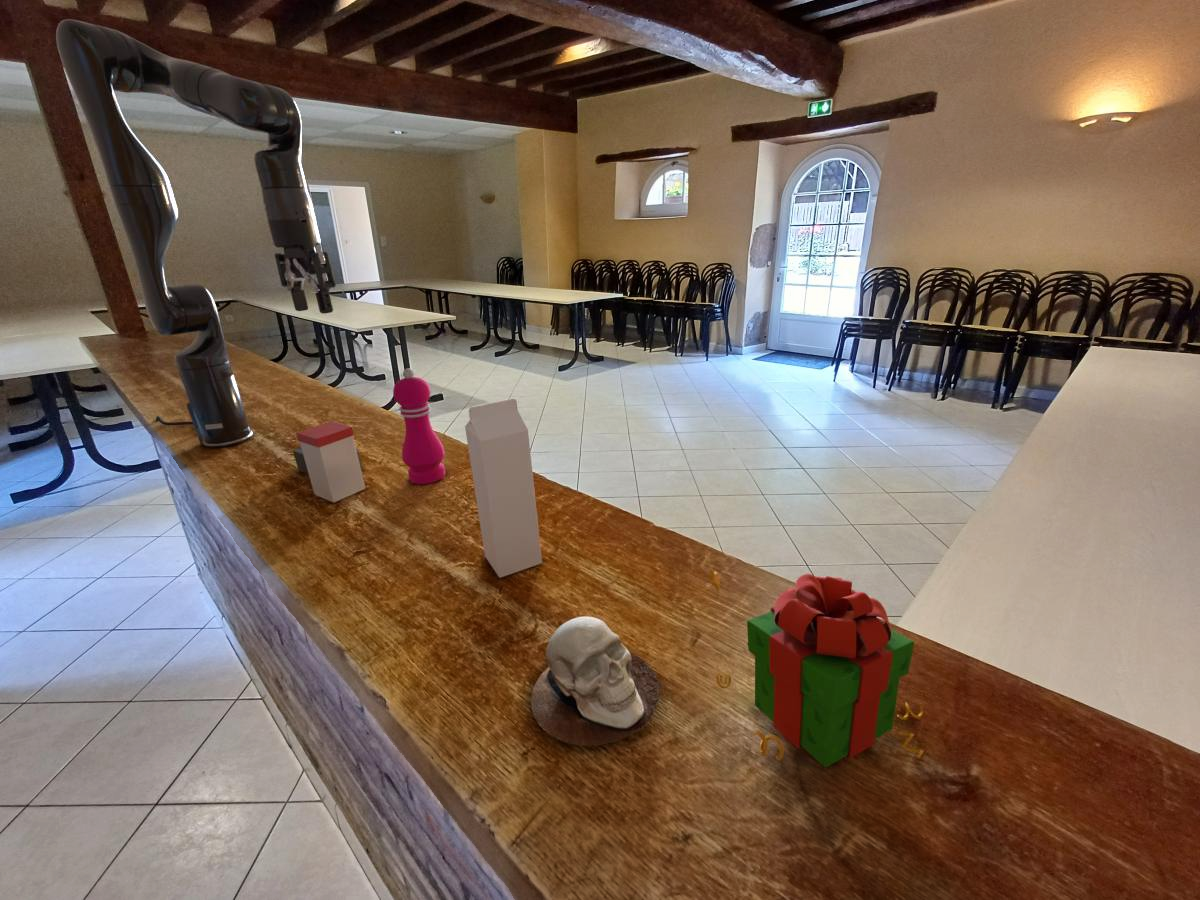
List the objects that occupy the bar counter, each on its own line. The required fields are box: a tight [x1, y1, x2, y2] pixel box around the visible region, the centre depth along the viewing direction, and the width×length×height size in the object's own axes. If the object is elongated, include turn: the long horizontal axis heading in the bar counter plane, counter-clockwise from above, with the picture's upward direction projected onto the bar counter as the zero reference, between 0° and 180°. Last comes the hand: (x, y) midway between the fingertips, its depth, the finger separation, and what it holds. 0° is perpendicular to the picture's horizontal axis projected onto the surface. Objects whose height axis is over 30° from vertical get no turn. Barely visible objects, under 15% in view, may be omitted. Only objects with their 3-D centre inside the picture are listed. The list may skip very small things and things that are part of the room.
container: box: [295, 420, 366, 504], centre depth 93 cm, size 12×6×12 cm
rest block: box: [292, 447, 364, 475], centre depth 104 cm, size 6×12×4 cm, turn 55°
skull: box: [530, 615, 660, 747], centre depth 51 cm, size 12×10×10 cm
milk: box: [464, 398, 543, 578], centre depth 69 cm, size 6×6×22 cm
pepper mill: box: [392, 368, 446, 485], centre depth 96 cm, size 7×7×20 cm
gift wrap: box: [709, 570, 925, 768], centre depth 45 cm, size 20×19×14 cm
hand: (314, 311), depth 103 cm, fingers open, 8 cm apart
